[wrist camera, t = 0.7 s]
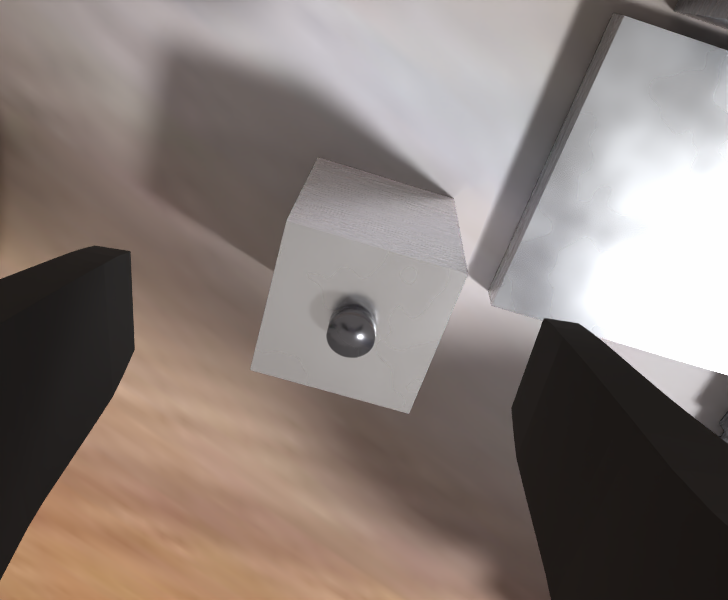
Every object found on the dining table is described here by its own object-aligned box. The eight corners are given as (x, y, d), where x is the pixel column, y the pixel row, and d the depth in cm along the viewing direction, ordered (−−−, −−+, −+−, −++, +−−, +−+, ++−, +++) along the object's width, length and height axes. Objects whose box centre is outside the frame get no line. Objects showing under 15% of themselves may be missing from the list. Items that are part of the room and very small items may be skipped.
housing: (409, 314, 21) (409, 428, 16) (286, 278, 21) (244, 383, 16) (453, 198, 19) (469, 285, 14) (318, 156, 19) (281, 229, 14)
